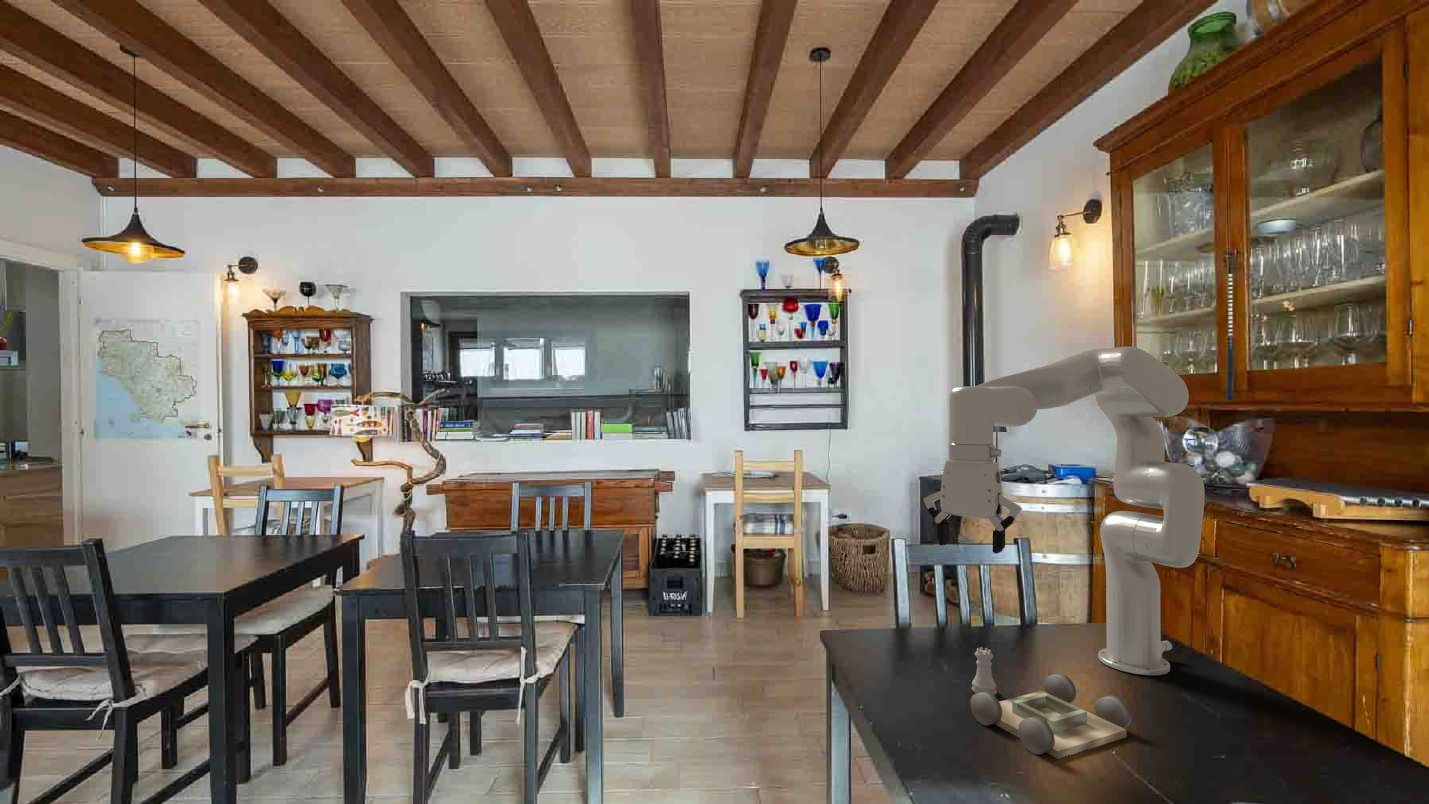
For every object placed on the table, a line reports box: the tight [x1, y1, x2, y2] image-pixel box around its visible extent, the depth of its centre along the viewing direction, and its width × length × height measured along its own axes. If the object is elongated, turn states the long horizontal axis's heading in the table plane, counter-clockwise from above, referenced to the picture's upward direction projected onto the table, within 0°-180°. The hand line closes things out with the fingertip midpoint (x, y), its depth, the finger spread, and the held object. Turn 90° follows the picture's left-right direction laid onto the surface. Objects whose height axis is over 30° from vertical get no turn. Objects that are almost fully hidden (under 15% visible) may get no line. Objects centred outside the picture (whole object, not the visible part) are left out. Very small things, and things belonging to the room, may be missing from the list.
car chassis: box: [969, 673, 1132, 760], centre depth 111 cm, size 20×16×5 cm
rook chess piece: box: [971, 647, 998, 696], centre depth 124 cm, size 4×4×8 cm
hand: (970, 548), depth 119 cm, fingers open, 9 cm apart
